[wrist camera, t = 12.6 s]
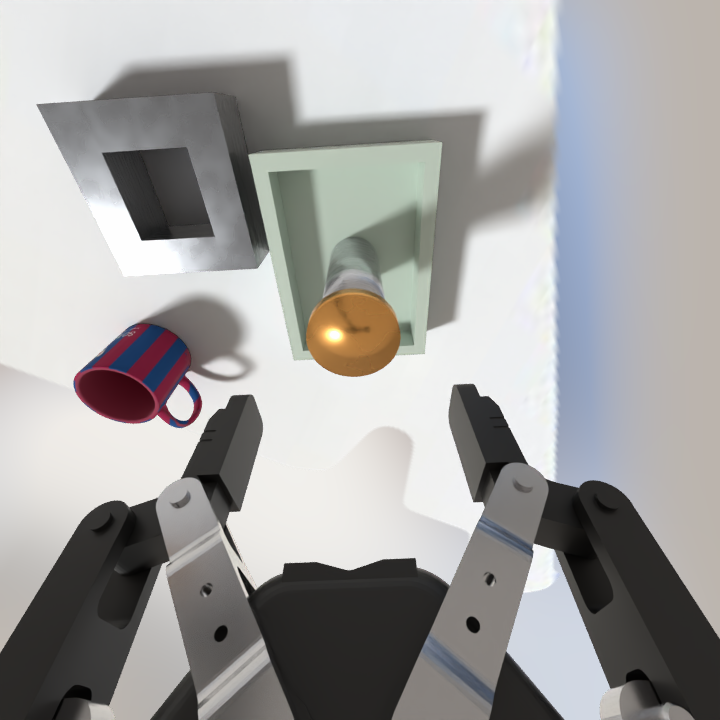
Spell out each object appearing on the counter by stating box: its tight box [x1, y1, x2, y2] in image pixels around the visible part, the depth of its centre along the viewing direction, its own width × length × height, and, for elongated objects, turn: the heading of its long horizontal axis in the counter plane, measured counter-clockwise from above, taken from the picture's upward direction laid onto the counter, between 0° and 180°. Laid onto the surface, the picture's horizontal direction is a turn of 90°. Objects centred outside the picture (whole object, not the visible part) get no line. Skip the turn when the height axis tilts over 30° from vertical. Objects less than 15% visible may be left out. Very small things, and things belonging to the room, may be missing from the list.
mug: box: [74, 324, 202, 428], centre depth 31 cm, size 7×10×7 cm
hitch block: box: [36, 92, 269, 276], centre depth 22 cm, size 10×10×4 cm
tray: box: [249, 140, 442, 360], centre depth 26 cm, size 16×12×3 cm
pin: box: [306, 237, 401, 377], centre depth 22 cm, size 5×5×12 cm
